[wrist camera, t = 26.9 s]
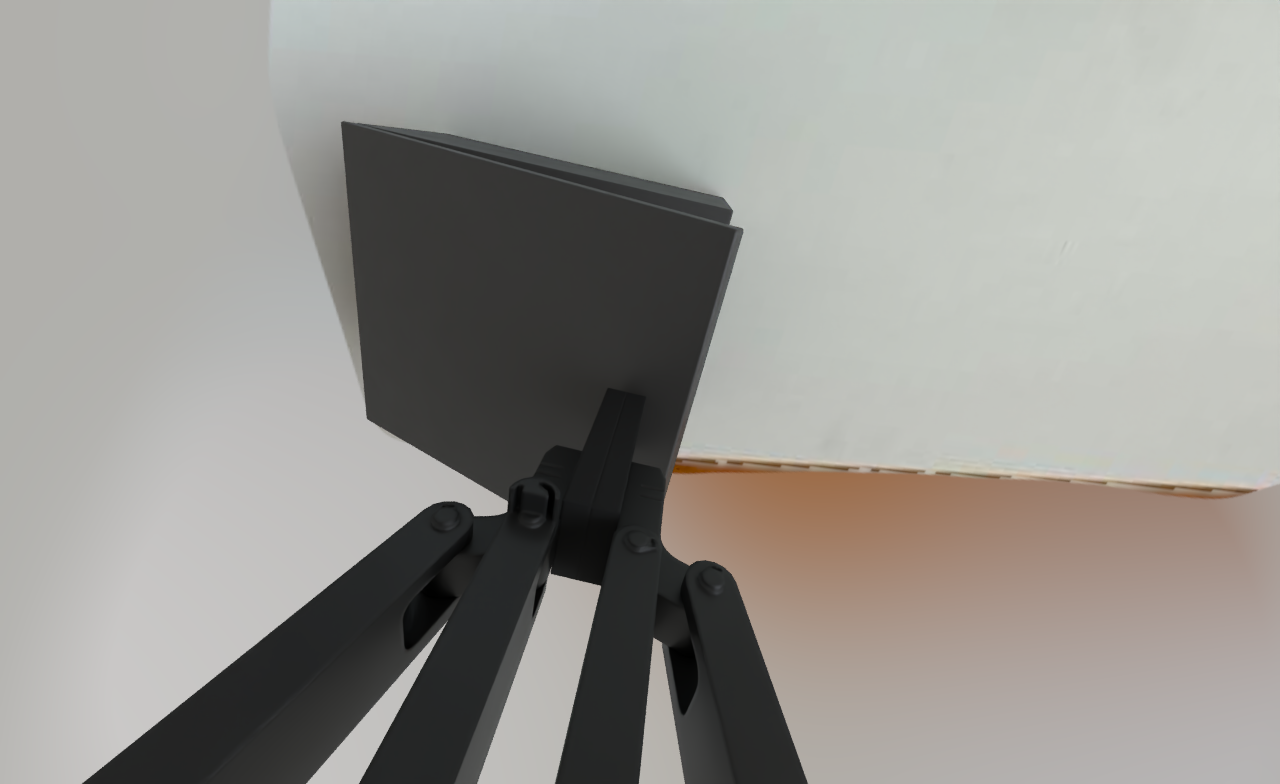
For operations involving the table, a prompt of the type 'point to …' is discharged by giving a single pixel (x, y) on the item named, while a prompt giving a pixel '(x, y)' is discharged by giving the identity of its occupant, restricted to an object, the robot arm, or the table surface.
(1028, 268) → the table surface
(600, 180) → the box
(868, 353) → the table surface
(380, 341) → the lid
